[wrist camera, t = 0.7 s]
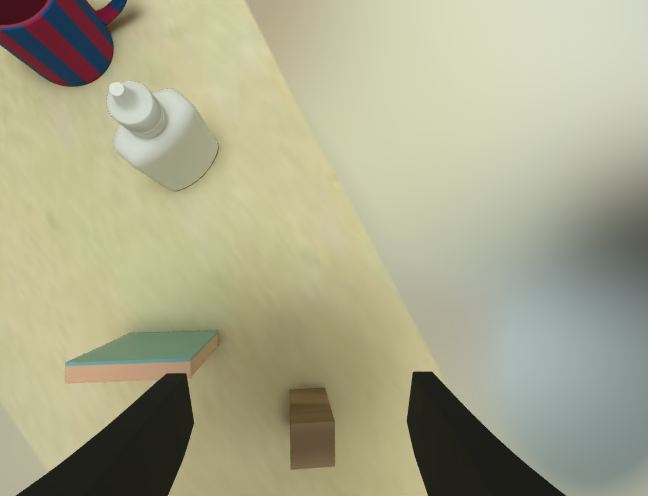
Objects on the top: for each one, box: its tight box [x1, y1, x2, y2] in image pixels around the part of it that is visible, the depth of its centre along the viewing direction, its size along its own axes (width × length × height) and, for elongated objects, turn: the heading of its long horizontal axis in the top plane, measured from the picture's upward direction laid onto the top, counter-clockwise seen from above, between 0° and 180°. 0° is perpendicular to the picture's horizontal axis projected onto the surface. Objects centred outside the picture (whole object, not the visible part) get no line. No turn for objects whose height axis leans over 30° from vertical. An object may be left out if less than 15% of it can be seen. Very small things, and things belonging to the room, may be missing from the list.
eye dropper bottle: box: [106, 81, 218, 191], centre depth 22 cm, size 4×6×12 cm
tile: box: [65, 331, 218, 384], centre depth 24 cm, size 1×7×8 cm, turn 91°
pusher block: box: [290, 388, 335, 469], centre depth 26 cm, size 3×3×6 cm
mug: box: [0, 0, 127, 86], centre depth 24 cm, size 7×10×7 cm
